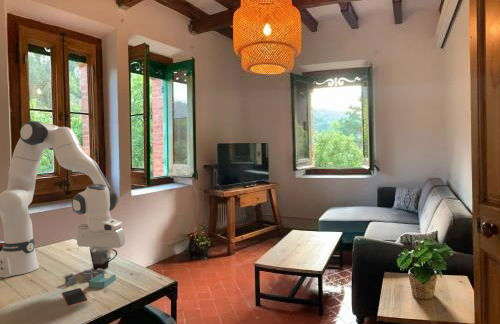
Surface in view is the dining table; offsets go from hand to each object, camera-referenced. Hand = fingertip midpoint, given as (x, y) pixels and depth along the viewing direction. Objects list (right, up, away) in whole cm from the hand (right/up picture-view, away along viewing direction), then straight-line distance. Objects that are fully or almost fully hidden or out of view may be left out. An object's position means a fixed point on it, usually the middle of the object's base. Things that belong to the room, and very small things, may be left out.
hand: (101, 257), depth 145 cm
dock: (0, -11, 0) cm, 11 cm away
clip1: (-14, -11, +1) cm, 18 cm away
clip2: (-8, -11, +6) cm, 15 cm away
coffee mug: (-7, -10, +18) cm, 22 cm away
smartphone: (-6, -13, -11) cm, 18 cm away
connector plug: (0, -2, +2) cm, 3 cm away
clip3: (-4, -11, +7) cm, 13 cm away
